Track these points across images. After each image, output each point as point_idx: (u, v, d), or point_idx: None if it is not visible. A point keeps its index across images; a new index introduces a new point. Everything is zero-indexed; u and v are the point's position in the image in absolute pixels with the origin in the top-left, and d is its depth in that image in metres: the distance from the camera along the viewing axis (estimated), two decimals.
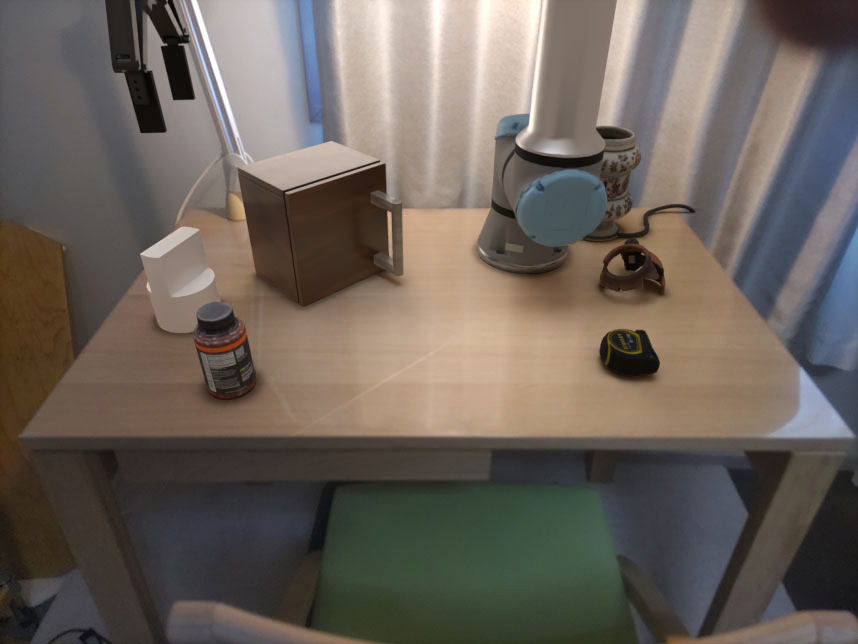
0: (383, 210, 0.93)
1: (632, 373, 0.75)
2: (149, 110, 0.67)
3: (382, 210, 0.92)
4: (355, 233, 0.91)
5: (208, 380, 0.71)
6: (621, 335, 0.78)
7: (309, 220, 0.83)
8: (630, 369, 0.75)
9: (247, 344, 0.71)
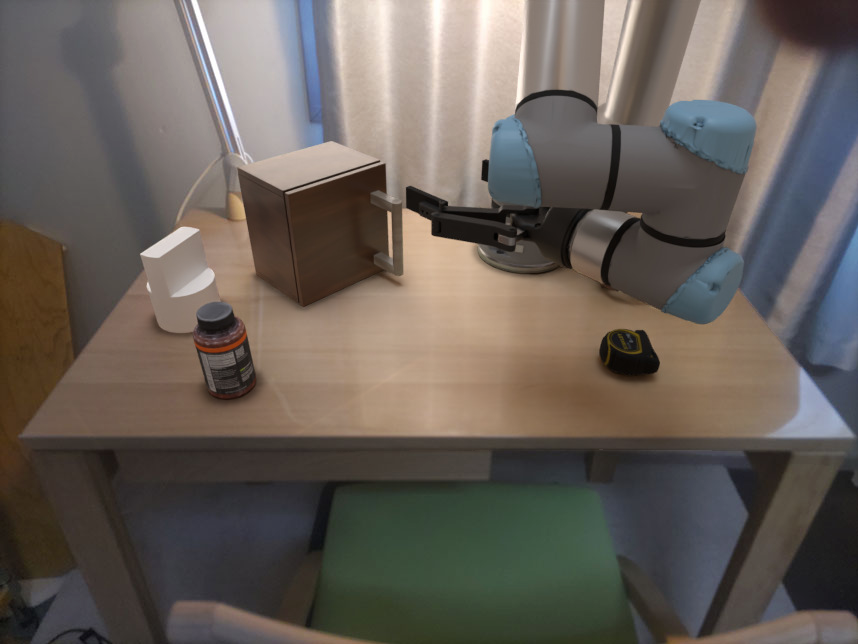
0: (383, 210, 0.93)
1: (632, 373, 0.75)
2: None
3: (382, 210, 0.92)
4: (355, 233, 0.91)
5: (208, 380, 0.71)
6: (621, 335, 0.78)
7: (309, 220, 0.83)
8: (630, 369, 0.75)
9: (247, 344, 0.71)
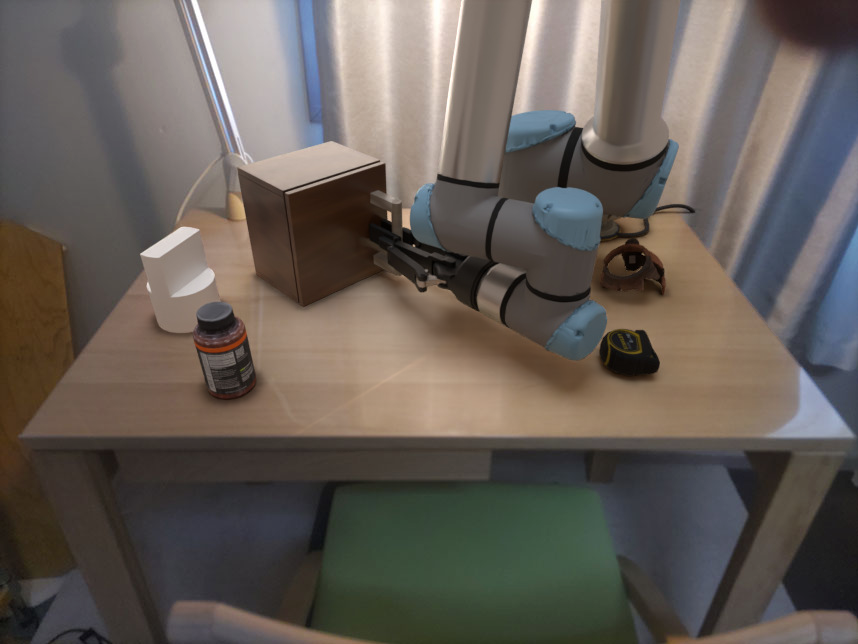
0: (383, 210, 0.93)
1: (632, 373, 0.75)
2: None
3: (382, 210, 0.93)
4: (355, 233, 0.91)
5: (208, 380, 0.71)
6: (621, 335, 0.78)
7: (309, 220, 0.83)
8: (630, 369, 0.75)
9: (247, 344, 0.71)
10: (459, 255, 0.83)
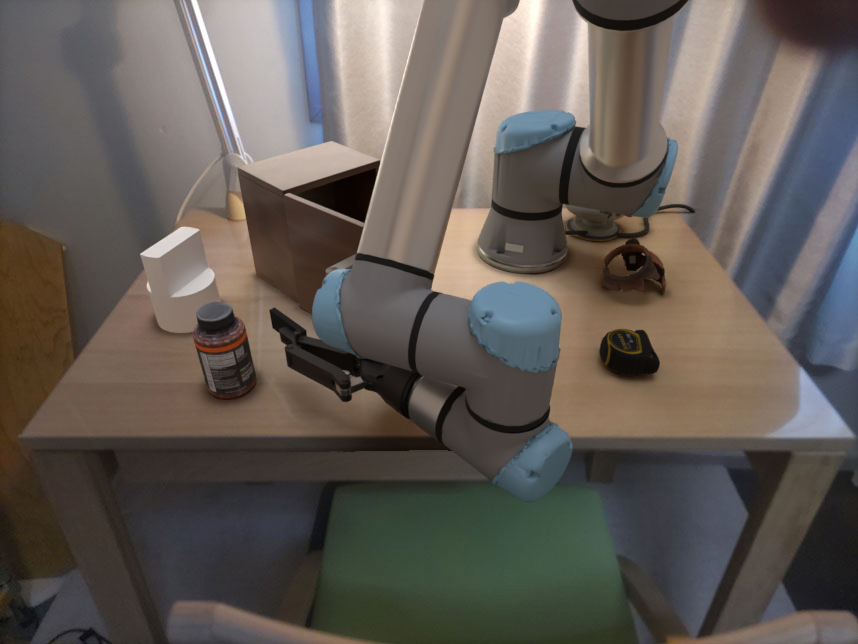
0: None
1: (632, 373, 0.75)
2: None
3: None
4: None
5: (208, 380, 0.71)
6: (621, 335, 0.78)
7: (300, 232, 0.80)
8: (630, 369, 0.75)
9: (247, 344, 0.71)
10: None
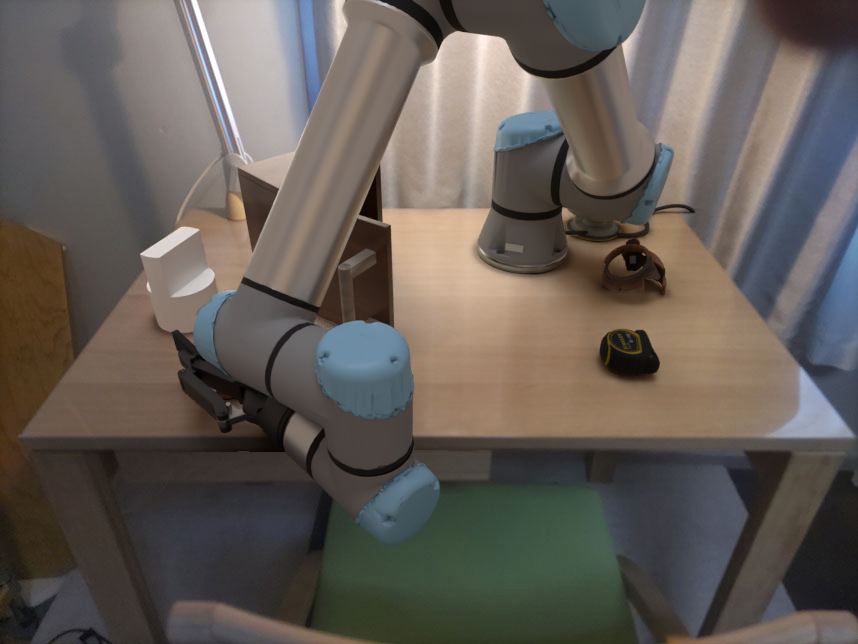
0: (383, 278, 0.76)
1: (632, 373, 0.75)
2: None
3: (381, 278, 0.76)
4: None
5: None
6: (621, 335, 0.78)
7: None
8: (630, 369, 0.75)
9: None
10: None
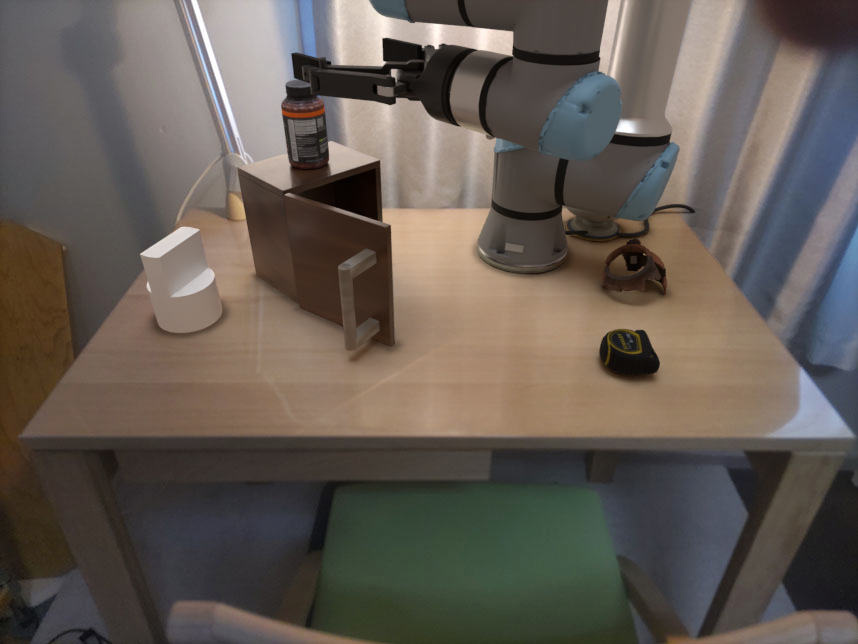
0: (383, 278, 0.76)
1: (632, 373, 0.75)
2: None
3: (381, 278, 0.76)
4: None
5: (292, 150, 0.85)
6: (621, 335, 0.78)
7: (302, 232, 0.80)
8: (630, 369, 0.75)
9: (325, 119, 0.84)
10: None
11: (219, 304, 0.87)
